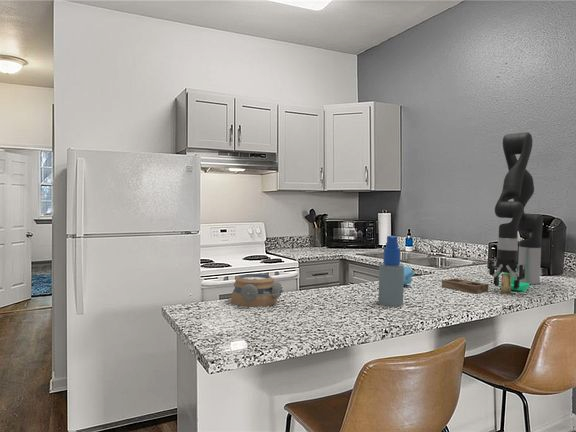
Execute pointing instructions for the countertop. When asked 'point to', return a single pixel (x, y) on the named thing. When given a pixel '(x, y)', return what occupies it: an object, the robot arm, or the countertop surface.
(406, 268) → the teapot
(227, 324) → the countertop surface
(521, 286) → the camera mount
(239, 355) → the countertop surface
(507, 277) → the bushing
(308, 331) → the countertop surface
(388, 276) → the spray bottle
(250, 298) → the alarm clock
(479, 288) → the jig
